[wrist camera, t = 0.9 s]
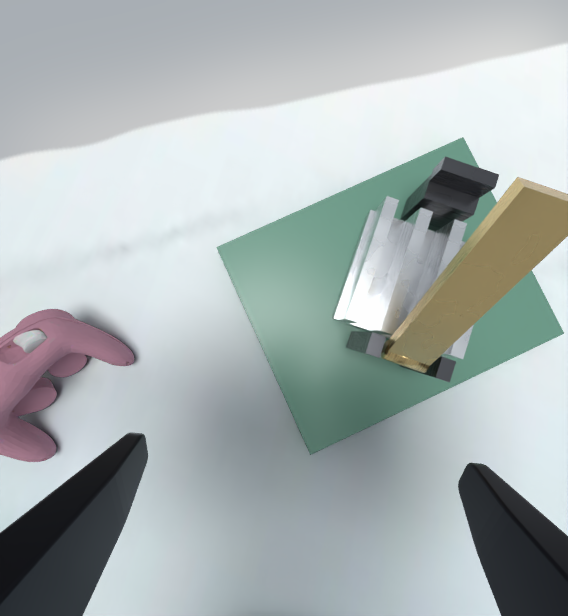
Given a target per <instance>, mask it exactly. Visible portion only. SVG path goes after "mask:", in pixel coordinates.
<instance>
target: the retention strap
mask: <svg viewBox="0 0 568 616" xmlns="http://www.w3.org/2000/svg"><path fill="white" fill-rule="evenodd" d="M567 236H568V194H566V193H563V192H560V191H557V190H554V189H551V188H549V187H546V186H543V185H540V184H537V183H534V182H531V181H528V180H525V179H522V178H519V177H517V178H516V180H515V181H514V182H513V183H512V185H511V186H510V187H509V188H508V190H507V191H506V192H505V193H504V195H503V196H502V197H501V198H500V200H499V201H498V202H497V204H496V205H495V206H494V207H493V209H492V210H491V211H490V212H489V214H488V215H487V216H486V217H485V219H484V220H483V221H482V223H481V224H480V225H479V226H478V228H477V229H476V230H475V231H474V233H473V234H472V235H471V236H470V238H469V239H468V240H467V241H466V243H465V244H464V245H463V247H462V248H461V249H460V250H459V252H458V253H457V254H456V255H455V257H454V258H453V259H452V260H451V262H450V263H449V264H448V266H447V267H446V268H445V269H444V271H443V272H442V273H441V274H440V276H439V277H438V278H437V279H436V281H435V282H434V283H433V284H432V286H431V287H430V288H429V290H428V291H427V292H426V293H425V295H424V296H423V297H422V298H421V300H420V301H419V302H418V303H417V305H416V306H415V307H414V309H413V310H412V311H411V312H410V314H409V315H408V316H407V317H406V319H405V320H404V321H403V322H402V324H401V325H400V326H399V327H398V329H397V330H396V331H395V333H394V334H393V335H392V336H391V338H390V339H389V340H387V341H386V342H385V343H384V346H383V349H382V352H381V358H382V359H385V360H388V361H390V362H393V363H396V364H399V365H402V366H405V367H408V368H410V369H413V370H416V371H419V372H422V373H425V372H426V371H427V370H428V369H429V367H430V365H431V364H432V363H433V362H434V361H435V360H436V359H438V358H439V357H440V356H441V355H442V354H443V353H444V352H445V351H446V350H447V349H448V348H449V347H450V346H451V345H452V344H453V343H455V342H456V341H457V340H458V339H459V338H460V337H461V336H462V335H463V334H464V333H465V332H466V331H467V330H468V329H469V328H470V327H472V326H473V325H474V324H475V323H476V322H477V321H478V320H479V319H480V318H481V317H482V316H483V315H484V314H485V313H486V312H487V311H489V310H490V309H491V308H492V307H493V306H494V305H495V304H496V303H497V302H498V301H499V300H500V299H501V298H502V297H503V296H504V295H506V294H507V293H508V292H509V291H510V290H511V289H512V288H513V287H514V286H515V285H516V284H517V283H518V282H519V281H520V280H521V279H523V278H524V277H525V276H526V275H527V274H528V273H529V272H530V271H531V270H532V269H533V268H534V267H535V266H536V265H537V264H538V263H540V262H541V261H542V260H543V259H544V258H545V257H546V256H547V255H548V254H549V253H550V252H551V251H552V250H553V249H554V248H555V247H557V246H558V245H559V244H560V243H561V242H562V241H563V240H564V239H565V238H566V237H567Z"/></svg>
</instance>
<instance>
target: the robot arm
mask: <svg viewBox="0 0 568 616" xmlns="http://www.w3.org/2000/svg"><path fill="white" fill-rule="evenodd" d="M147 459H148V451H147V444H146V438H145V435H144V434H142V433H128V434H126V435H125V436H124V437H122V438H121V439H120V440H119V441H117V442H116V443H115V444H113V445H112V446H111V447H110V448H108V449H107V450H106V451H104V452H103V453H102V454H101V455H99V456H98V457H97V458H95V459H94V460H93V461H92V462H90V463H89V464H88V465H87V466H85V467H84V468H83V469H81V470H80V471H79V472H78V473H76V474H75V475H74V476H72V477H71V478H70V479H69V480H67V481H66V482H65V483H63V484H62V485H61V486H60V487H58V488H57V489H56V490H54V491H53V492H52V493H51V494H49V495H48V496H47V497H46V498H44V499H43V500H42V501H40V502H39V503H38V504H37V505H35V506H34V507H33V508H31V509H30V510H29V511H28V512H26V513H25V514H24V515H22V516H21V517H20V518H19V519H17V520H16V521H15V522H14V523H12V524H11V525H10V526H8V527H7V528H6V529H5V530H3V531H2V532H1V533H0V616H83V613H84V611H85V609H86V607H87V605H88V603H89V600H90V598H91V596H92V594H93V592H94V590H95V588H96V585H97V583H98V581H99V579H100V577H101V575H102V572H103V570H104V568H105V566H106V564H107V562H108V559H109V557H110V555H111V553H112V551H113V549H114V546H115V544H116V542H117V540H118V538H119V536H120V534H121V531H122V529H123V527H124V524H125V522H126V520H127V517H128V514H129V512H130V509H131V506H132V503H133V500H134V497H135V494H136V492H137V489H138V486H139V483H140V480H141V477H142V475H143V472H144V469H145V466H146V463H147ZM458 488H459V493H460V497H461V500H462V503H463V507H464V510H465V514H466V517H467V521H468V524H469V527H470V531H471V534H472V538H473V541H474V544H475V547H476V551H477V554H478V556H479V559H480V562H481V564H482V567H483V570H484V572H485V575H486V577H487V580H488V582H489V585H490V588H491V590H492V593H493V595H494V598H495V600H496V603H497V606H498V608H499V611H500V613H501V616H568V536H567V535H566V534H565V533H564V532H562V531H561V530H560V529H559V528H558V527H557V526H556V525H554V524H553V523H552V522H551V521H550V520H549V519H547V518H546V517H545V516H544V515H543V514H542V513H541V512H539V511H538V510H537V509H536V508H535V507H534V506H533V505H531V504H530V503H529V502H528V501H527V500H526V499H524V498H523V497H522V496H521V495H520V494H519V493H518V492H516V491H515V490H514V489H513V488H512V487H511V486H509V485H508V484H507V483H506V482H505V481H504V480H503V479H501V478H500V477H499V476H498V475H497V474H496V473H494V472H493V471H492V470H491V469H490V468H489V467H487V466H486V465H484V464H478V463H469V464H467V466H466V468H465V470H464V472H463V474H462V476H461V478H460V480H459V484H458Z"/></svg>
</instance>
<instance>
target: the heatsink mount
mask: <svg viewBox="0 0 568 616" xmlns="http://www.w3.org/2000/svg"><path fill="white" fill-rule="evenodd" d="M498 177H499V175H498V174H495V173H493V172H490V171H487V170H484V169H481V168H478V167H475V166H472V165H469V164H466V163H463V162H460V161H457V160H454V159H451V158H449V157H446V156H445V157H444V158H443V159H442V160H441V161H440V162H439V163H438V165H437V166H436V167H435V168H434V169H433V171H432V174H431V175H430V176H429V177H428V178H427V179H426V180H425V181H424V182H423V183H422V184H421V185H420V186H419V187H418V188H417V189H416V190H415V191H414V192H413V193H412V194H411V195H410V196H409V197H408V199H407V200H406V203H405V206H404V209H403V212H402V215H401V218H400V219H401V220H399V219H396V218H393V217H394V214H395V211H396V208H397V205H398V202H399V200H397V199H394V198H392V197H389V196H386V198H385V199H384V200H383V201H382V203H381V204H380V205H379V206H378V208H377V209H376V210H375V211H373V210H370V211H369V213H368V214H367V216H366V219H365V222H364V225H363V228H362V231H361V234H360V236H359V239H358V242H357V245H356V248H355V251H354V254H353V257H352V260H351V263H350V266H349V269H348V272H347V275H346V278H345V281H344V284H343V287H342V289H341V292H340V295H339V298H338V301H337V304H336V307H335V310H334V313H333V316H332V319H334V320H337V321H340V322H343V323H346V324H348V325H351V326H354V327H357V328H360V329H363V330H366V331H368V332H354V331H351V333H350V336H349V339H348V342H347V345H346V348H349V349H352V350H354V351H358V352H361V353H364V354H368V355H371V356H374V357H378V358H380V355H381V352H382V349H383V346H384V343H385V340H386V338H389V339H390V338H391V336H392V335H393V334H394V333H395V331H396V330H397V329H398V327H399V326H400V325H401V324H402V322H403V321H404V320H405V319H406V317H407V316H408V315H409V314H410V312H411V311H412V310H413V309H414V307H415V306H416V305H417V303H418V302H419V301H420V300H421V298H422V297H423V296H424V295H425V293H426V292H427V291H428V290H429V288H430V287H431V286H432V284H433V283H434V282H435V281H436V279H437V278H438V277H439V276H440V274H441V273H442V272H443V271H444V269H445V268H446V267H447V266H448V264H449V263H450V262H451V260H452V259H453V258H454V257H455V255H456V254H457V253H458V252H459V250H460V249H461V248H462V247H463V245H464V244H465V243H466V242H463V241H462V238H463V235H464V232H465V229H466V226H467V223H464V222H463V221H464V220H466V219H468V218H469V217H471V216H473V215H474V213H475V210H476V207H477V204H478V201H479V198H480V197H482V196H483V195H485V194H486V193H488V192H489V191H491V190H492V189H494V188H495V186H496V183H497V180H498ZM402 220H404V221H402ZM428 229H430V230H428ZM431 230H433V231H431ZM434 231H435V232H434ZM473 326H474V325H473ZM473 326H472V327H470V328H469V329H468V330H467V331H466V332H465V333H464V334H463V335H462V336H461V337H460V338H459V339H458V340H457V341H456V342H455V343H453V344H452V345H451V346H450V347H449V348H448V349H447V350H446V351H445V352H444V353H443V354H442V355H441V356H440V357H439V358H438V359H436V360H435V361H434V362H433V363H432V364H431V365H430V367H429V369H428V370H427V371H426V372H425V373H422V372H419V371H416V370H413V369H410V368H408V367H405V366H402V365H400V367H403V368H406V369H409V370H412V371H415V372H418V373H421V374H424V375H427V376H430V377H434V378H437V379H440V380H443V381H446V382H449V383H450V380H451V377H452V374H453V371H454V367H455V364H456V361H454V360H451V359H448V358H445V357H452V358H458V359H463V358H464V355H465V352H466V348H467V345H468V342H469V339H470V335H471V332H472V329H473Z"/></svg>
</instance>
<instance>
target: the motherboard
mask: <svg viewBox="0 0 568 616" xmlns="http://www.w3.org/2000/svg"><path fill="white" fill-rule="evenodd" d="M445 156H446V157H449V158H451V159H454V160H457V161H460V162H463V163H466V164H469V165H472V166H475V167H478V165H477V163H476V161H475V159H474V157H473V155H472V153H471V151H470V149H469V147H468V145H467V144H466V142H465V140H464V138H463V137H462V138H460V139H458V140H456V141H454V142H451V143H449V144H447V145H445V146H442V147H440V148H438V149H436V150H433V151H431V152H429V153H427V154H424V155H422V156H420V157H418V158H415V159H413V160H411V161H409V162H407V163H404V164H402V165H400V166H398V167H395V168H393V169H391V170H389V171H386V172H384V173H382V174H380V175H377V176H375V177H373V178H371V179H368V180H366V181H364V182H362V183H360V184H357V185H355V186H353V187H351V188H348V189H346V190H344V191H342V192H339V193H337V194H335V195H333V196H330V197H328V198H326V199H324V200H321V201H319V202H317V203H315V204H313V205H310V206H308V207H306V208H304V209H301V210H299V211H297V212H295V213H292V214H290V215H288V216H286V217H283V218H281V219H279V220H277V221H275V222H272V223H270V224H268V225H266V226H263V227H261V228H259V229H257V230H254V231H252V232H250V233H248V234H245V235H243V236H241V237H239V238H236V239H234V240H232V241H230V242H228V243H225V244H223V245H221V246H219V247H217V249H218V252H219V254H220V256H221V258H222V260H223V263H224V265H225V267H226V269H227V271H228V274H229V276H230V278H231V280H232V283H233V285H234V287H235V289H236V291H237V294H238V296H239V298H240V300H241V302H242V305H243V307H244V309H245V311H246V313H247V316H248V318H249V320H250V322H251V324H252V327H253V329H254V331H255V333H256V335H257V338H258V340H259V342H260V344H261V347H262V349H263V351H264V353H265V355H266V358H267V360H268V362H269V364H270V366H271V369H272V371H273V373H274V375H275V377H276V380H277V382H278V384H279V386H280V388H281V391H282V393H283V395H284V397H285V400H286V402H287V404H288V406H289V408H290V411H291V413H292V415H293V417H294V419H295V422H296V424H297V426H298V428H299V430H300V433H301V435H302V437H303V439H304V441H305V444H306V446H307V448H308V450H309V452H310V455H311V454H313V453H315V452H318V451H320V450H322V449H324V448H326V447H328V446H330V445H332V444H334V443H336V442H338V441H340V440H343V439H345V438H347V437H349V436H351V435H353V434H355V433H357V432H359V431H361V430H363V429H366V428H368V427H370V426H372V425H374V424H376V423H378V422H380V421H382V420H384V419H386V418H389V417H391V416H393V415H395V414H397V413H399V412H401V411H403V410H405V409H407V408H409V407H411V406H414V405H416V404H418V403H420V402H422V401H424V400H426V399H428V398H430V397H432V396H434V395H437V394H439V393H441V392H443V391H445V390H447V389H449V388H451V387H453V386H455V385H457V384H460V383H462V382H464V381H466V380H468V379H470V378H472V377H474V376H476V375H478V374H480V373H482V372H485V371H487V370H489V369H491V368H493V367H495V366H497V365H499V364H501V363H503V362H505V361H508V360H510V359H512V358H514V357H516V356H518V355H520V354H522V353H524V352H526V351H528V350H531V349H533V348H535V347H537V346H539V345H541V344H543V343H545V342H547V341H549V340H551V339H553V338H556V337H558V336H560V335H562V334H564V332H563V330H562V328H561V326H560V324H559V322H558V321H557V319H556V317H555V315H554V313H553V311H552V309H551V307H550V305H549V303H548V301H547V299H546V297H545V295H544V293H543V291H542V289H541V287H540V286H539V284H538V282H537V280H536V278H535V276H534V274H533V272H532V270H531V271H530V272H529V273H528V274H527V275H526V276H525V277H524V278H523V279H521V280H520V281H519V282H518V283H517V284H516V285H515V286H514V287H513V288H512V289H511V290H510V291H509V292H508V293H507V294H506V295H504V296H503V297H502V298H501V299H500V300H499V301H498V302H497V303H496V304H495V305H494V306H493V307H492V308H491V309H490V310H489V311H487V312H486V313H485V314H484V315H483V316H482V317H481V318H480V319H479V320H478V321H477V322H476V323H475V324H474V326H473V329H472V332H471V335H470V339H469V342H468V345H467V348H466V352H465V355H464V358H463V359H458V358H452V357H445V358H448V359H451V360H454V361H456V364H455V367H454V371H453V374H452V377H451V380H450V383H449V382H446V381H443V380H440V379H437V378H434V377H430V376H427V375H424V374H421V373H418V372H415V371H412V370H409V369H406V368H403V367H400V365H399V364H396V363H393V362H390V361H388V360H385V359H382V358H381V355H380V358H378V357H374V356H371V355H368V354H364V353H361V352H358V351H354V350H352V349H349V348H346V345H347V342H348V339H349V336H350V333H351V331H354V332H368V331H366V330H363V329H360V328H357V327H354V326H351V325H348V324H346V323H343V322H340V321H337V320H334V319H332V316H333V313H334V310H335V307H336V304H337V301H338V298H339V295H340V292H341V289H342V287H343V284H344V281H345V278H346V275H347V272H348V269H349V266H350V263H351V260H352V257H353V254H354V251H355V248H356V245H357V242H358V239H359V236H360V234H361V231H362V228H363V225H364V222H365V219H366V216H367V214H368V213H369V211H370V210H373V211H375V210H376V209H377V208H378V206H379V205H380V204H381V203H382V201H383V200H384V199H385V198H386V196H389V197H392V198H394V199H397V200H399V202H398V205H397V208H396V211H395V214H394V217H393V218H396V219H399V220H401V219H400V218H401V215H402V212H403V209H404V206H405V203H406V200H407V199H408V197H409V196H410V195H411V194H412V193H413V192H414V191H415V190H416V189H417V188H418V187H419V186H420V185H421V184H422V183H423V182H424V181H425V180H426V179H427V178H428V177H429V176H430V175H431V174H432V171H433V169H434V168H435V167H436V166H437V165H438V163H439V162H440V161H441V160H442V159H443V158H444V157H445ZM478 168H479V167H478ZM496 204H497V202H496V200H495V198H494V196H493V194H492V192H491V191H489V192H488V193H486V194H485V195H483V196H482V197H480V198H479V201H478V204H477V207H476V210H475V213H474V215H473V216H471V217H469V218H468V219H466V220H464V221H463V222H464V223H467V226H466V229H465V232H464V235H463V238H462V241H463V242H466V241H467V240H468V239H469V238H470V236H471V235H472V234H473V233H474V231H475V230H476V229H477V228H478V226H479V225H480V224H481V223H482V221H483V220H484V219H485V217H486V216H487V215H488V214H489V212H490V211H491V210H492V209H493V207H494V206H495V205H496ZM402 221H404V220H402ZM428 230H430V229H428ZM431 231H433V230H431ZM434 232H435V231H434ZM387 340H389V338H386V340H385V342H386V341H387Z"/></svg>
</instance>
